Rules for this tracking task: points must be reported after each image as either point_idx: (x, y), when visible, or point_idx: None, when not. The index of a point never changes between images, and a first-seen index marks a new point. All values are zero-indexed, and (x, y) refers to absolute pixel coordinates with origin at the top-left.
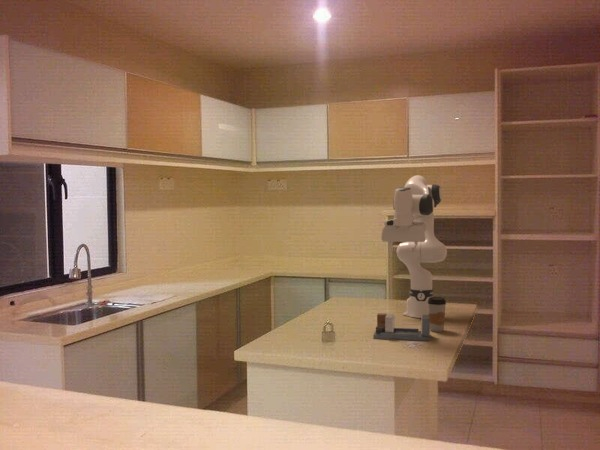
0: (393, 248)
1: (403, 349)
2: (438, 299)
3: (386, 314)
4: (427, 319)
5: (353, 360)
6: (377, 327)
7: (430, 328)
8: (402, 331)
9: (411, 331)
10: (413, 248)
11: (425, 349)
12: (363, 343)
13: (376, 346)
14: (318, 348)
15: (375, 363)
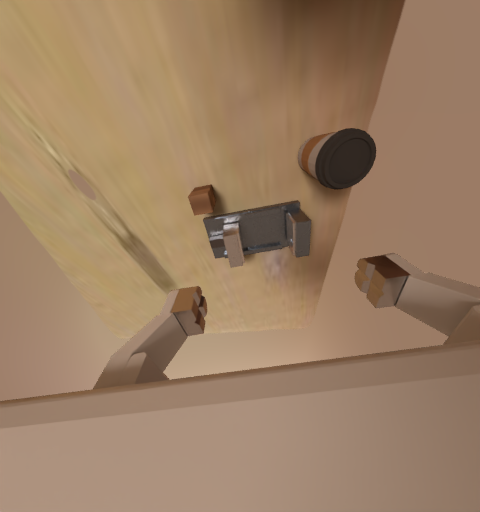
0: (194, 328)
1: (267, 287)
2: (351, 183)
3: (208, 194)
4: (305, 255)
5: (229, 328)
6: (214, 246)
7: (300, 165)
8: (251, 221)
9: (267, 215)
10: (387, 302)
11: (293, 279)
12: (213, 281)
13: (233, 286)
14: None
15: (251, 329)
